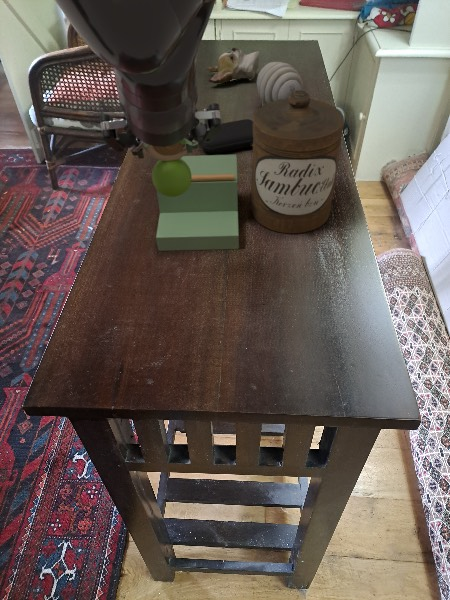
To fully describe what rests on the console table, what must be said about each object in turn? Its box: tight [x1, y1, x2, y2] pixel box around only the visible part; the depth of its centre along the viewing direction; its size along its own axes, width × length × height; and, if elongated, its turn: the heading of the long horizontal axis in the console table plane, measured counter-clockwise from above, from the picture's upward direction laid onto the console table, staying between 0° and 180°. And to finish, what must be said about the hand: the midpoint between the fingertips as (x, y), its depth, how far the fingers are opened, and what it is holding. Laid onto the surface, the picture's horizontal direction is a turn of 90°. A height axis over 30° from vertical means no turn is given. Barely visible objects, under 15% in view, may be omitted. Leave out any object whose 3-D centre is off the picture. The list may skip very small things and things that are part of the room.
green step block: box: [155, 154, 240, 252], centre depth 81 cm, size 14×16×10 cm
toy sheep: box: [256, 61, 304, 107], centre depth 111 cm, size 11×17×11 cm, turn 31°
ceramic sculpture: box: [205, 47, 261, 84], centre depth 126 cm, size 11×9×15 cm
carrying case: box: [198, 118, 253, 155], centre depth 103 cm, size 11×3×15 cm
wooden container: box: [250, 90, 345, 234], centre depth 79 cm, size 15×15×22 cm
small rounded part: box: [145, 142, 192, 197], centre depth 60 cm, size 5×6×12 cm
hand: (164, 148), depth 62 cm, fingers closed on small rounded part, 6 cm apart
